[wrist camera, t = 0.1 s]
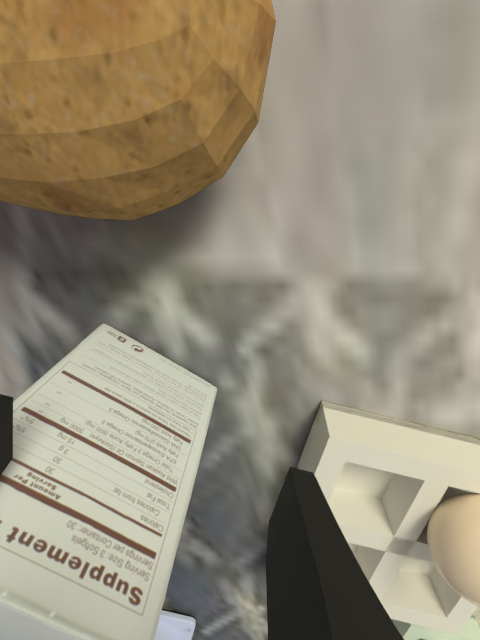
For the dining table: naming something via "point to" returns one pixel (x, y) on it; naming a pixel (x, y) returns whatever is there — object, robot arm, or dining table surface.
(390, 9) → the dining table surface
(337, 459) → the carton
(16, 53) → the potato
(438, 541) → the brown egg
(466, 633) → the mint square frame
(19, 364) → the dining table surface
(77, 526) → the supplement box
